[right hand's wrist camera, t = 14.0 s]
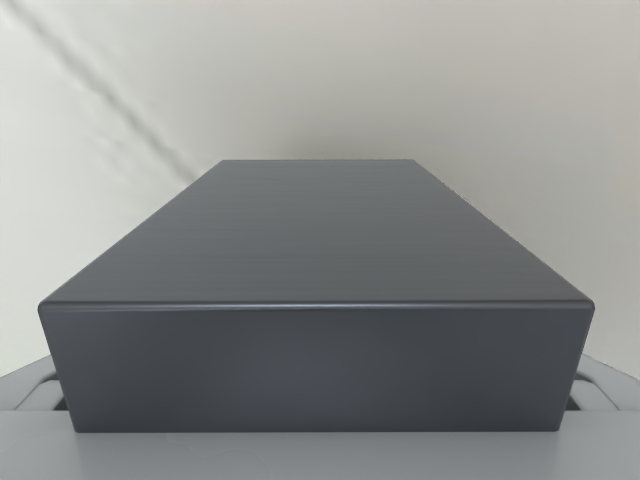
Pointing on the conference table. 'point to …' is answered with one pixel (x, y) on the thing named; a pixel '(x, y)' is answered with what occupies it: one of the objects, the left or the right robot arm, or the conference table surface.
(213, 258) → the bar
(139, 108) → the conference table surface
